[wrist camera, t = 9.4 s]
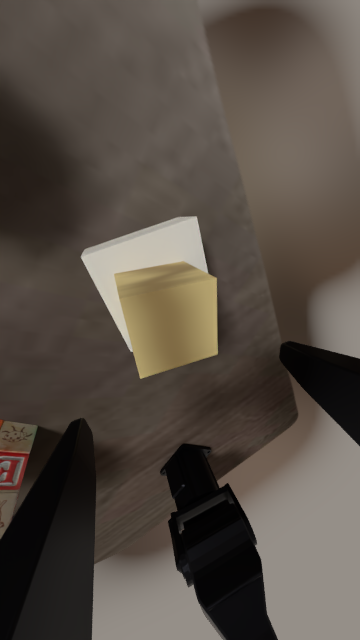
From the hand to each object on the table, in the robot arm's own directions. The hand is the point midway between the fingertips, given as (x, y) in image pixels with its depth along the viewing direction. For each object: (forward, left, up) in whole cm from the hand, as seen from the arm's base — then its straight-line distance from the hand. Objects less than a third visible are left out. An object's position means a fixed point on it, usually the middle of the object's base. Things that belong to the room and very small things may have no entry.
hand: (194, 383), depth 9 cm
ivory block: (0, -2, -12) cm, 12 cm away
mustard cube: (0, -1, -8) cm, 8 cm away
